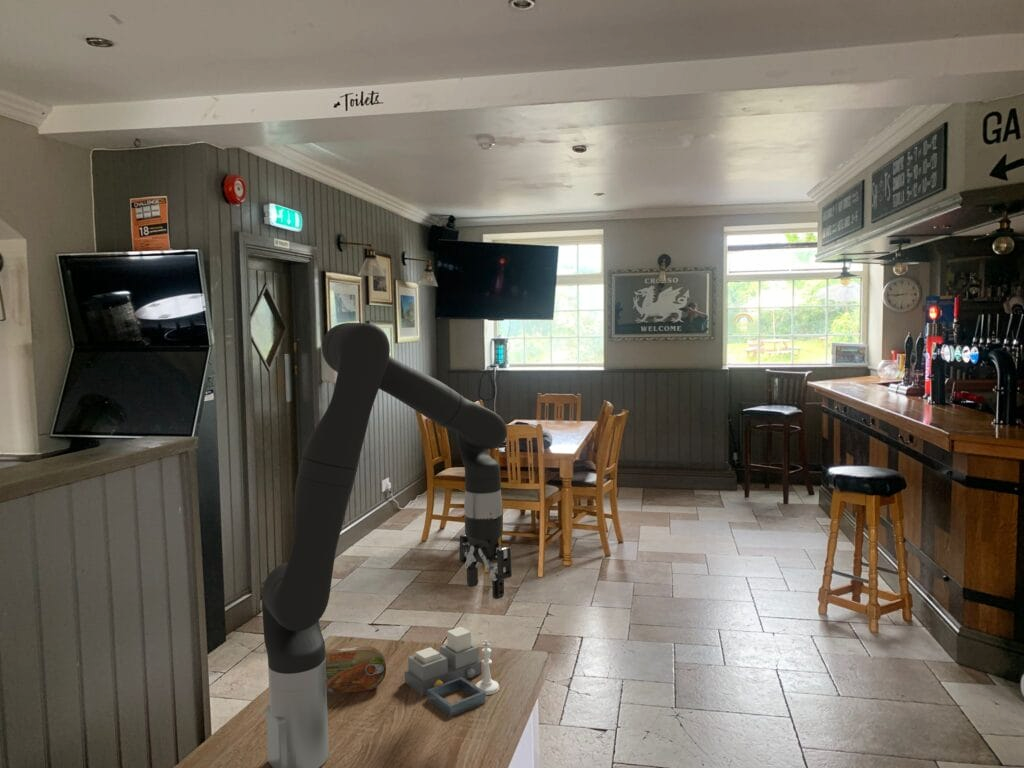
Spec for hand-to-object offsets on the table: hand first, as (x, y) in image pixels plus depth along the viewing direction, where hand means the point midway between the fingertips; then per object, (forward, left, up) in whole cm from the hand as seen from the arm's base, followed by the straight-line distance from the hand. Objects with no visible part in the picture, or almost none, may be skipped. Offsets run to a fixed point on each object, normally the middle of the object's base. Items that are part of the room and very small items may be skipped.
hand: (485, 591), depth 142 cm
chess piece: (0, 0, -20) cm, 20 cm away
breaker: (0, +9, -15) cm, 17 cm away
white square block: (-8, +9, -17) cm, 21 cm away
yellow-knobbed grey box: (-4, +9, -20) cm, 22 cm away
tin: (-22, +18, -20) cm, 35 cm away
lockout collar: (-8, 0, -20) cm, 21 cm away
